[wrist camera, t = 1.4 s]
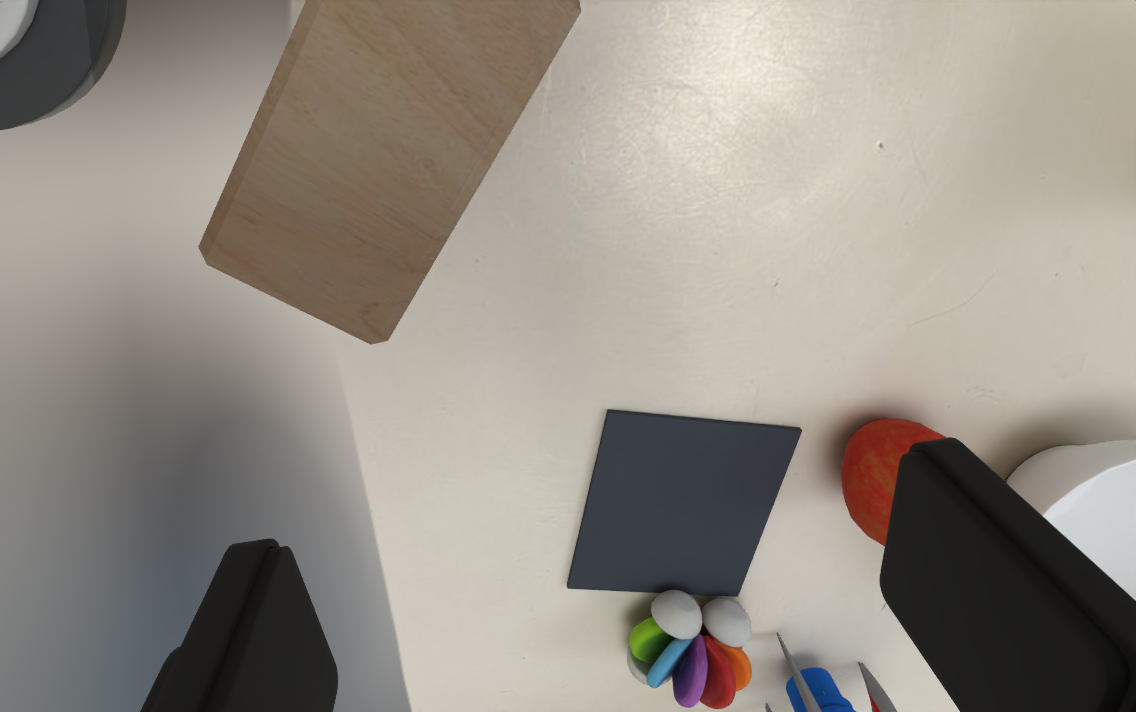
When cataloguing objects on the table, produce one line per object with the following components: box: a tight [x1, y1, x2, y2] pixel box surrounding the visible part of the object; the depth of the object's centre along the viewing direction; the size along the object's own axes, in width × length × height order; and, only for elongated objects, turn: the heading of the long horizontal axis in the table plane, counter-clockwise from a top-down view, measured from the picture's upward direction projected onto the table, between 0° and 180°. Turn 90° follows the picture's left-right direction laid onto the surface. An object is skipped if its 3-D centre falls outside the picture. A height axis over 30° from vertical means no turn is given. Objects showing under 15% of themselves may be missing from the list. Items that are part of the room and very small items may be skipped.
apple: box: [841, 418, 946, 546], centre depth 44 cm, size 8×8×11 cm
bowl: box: [1006, 440, 1136, 600], centre depth 49 cm, size 16×16×7 cm
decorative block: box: [199, 0, 581, 344], centre depth 26 cm, size 11×6×20 cm, turn 146°
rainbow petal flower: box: [627, 590, 752, 709], centre depth 52 cm, size 8×10×7 cm
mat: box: [567, 410, 802, 597], centre depth 49 cm, size 14×16×1 cm
